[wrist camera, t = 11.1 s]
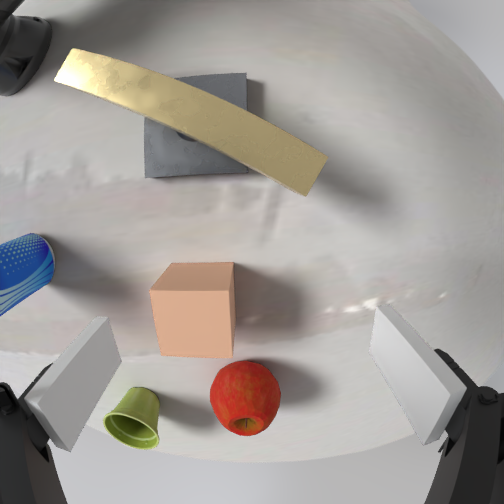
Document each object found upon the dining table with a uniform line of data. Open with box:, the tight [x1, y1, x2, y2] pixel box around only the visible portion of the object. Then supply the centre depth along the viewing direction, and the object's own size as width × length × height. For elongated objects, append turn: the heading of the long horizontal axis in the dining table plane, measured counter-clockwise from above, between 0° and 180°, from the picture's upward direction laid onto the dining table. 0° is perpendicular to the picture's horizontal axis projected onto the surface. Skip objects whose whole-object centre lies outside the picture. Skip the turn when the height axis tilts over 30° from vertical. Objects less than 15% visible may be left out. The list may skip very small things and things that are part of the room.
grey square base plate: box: [144, 73, 248, 178], centre depth 30 cm, size 12×12×2 cm
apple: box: [210, 361, 281, 436], centre depth 35 cm, size 10×10×10 cm
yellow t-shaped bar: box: [55, 48, 328, 197], centre depth 24 cm, size 26×4×10 cm, turn 61°
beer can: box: [0, 233, 55, 316], centre depth 27 cm, size 8×8×16 cm
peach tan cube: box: [149, 262, 236, 358], centre depth 32 cm, size 8×8×9 cm
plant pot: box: [103, 387, 160, 450], centre depth 38 cm, size 9×9×9 cm
